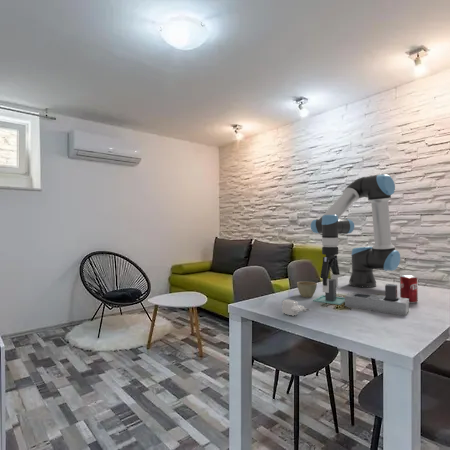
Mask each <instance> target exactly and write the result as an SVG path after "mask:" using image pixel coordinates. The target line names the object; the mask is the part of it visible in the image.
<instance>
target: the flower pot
mask: <svg viewBox="0 0 450 450" xmlns="http://www.w3.org/2000/svg"><path fill="white" fill-rule="evenodd" d="M296 285H297V289H298V293H299V294H300V296H301V297H303V298H312V297H313V296H314V294H315V293H316V291H317V287H318V286H317V285H318V283H317V282H313V281H297V282H296Z"/></svg>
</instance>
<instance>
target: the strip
mask: <svg viewBox="0 0 450 450" xmlns="http://www.w3.org/2000/svg"><path fill="white" fill-rule="evenodd" d="M344 298H345V302H344V307H345V308H347V307H348V308H352V309H353V308H354V309H361V310H367V311H371V312H375V313H382V314H391V315H397V316H398V315H399V316H403V317H404V316H405V317H406V316H407V315H408V312H409V311H410V303H409V299H408V298H400V296H399V297H398V285H397V284H393V283H390V284H389V283H386V284H385V285H384V295H379V294H372V293H371V294H370V293H364V292H363V293H362V292H355V291H354V292H353V291H350V292H348V293H347V294H346V295H344Z"/></svg>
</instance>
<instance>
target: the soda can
mask: <svg viewBox="0 0 450 450" xmlns="http://www.w3.org/2000/svg"><path fill="white" fill-rule="evenodd" d="M418 279H419V278H418V277H417V276H415V275H411V274H409V275H408V274H406V275H400V277H399V294H400V296H399V298H408V299H409V304H417V303H418V300H419V293H418V291H419V290H418V288H419V287H418V286H419V285H418V282H419V281H418Z"/></svg>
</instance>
